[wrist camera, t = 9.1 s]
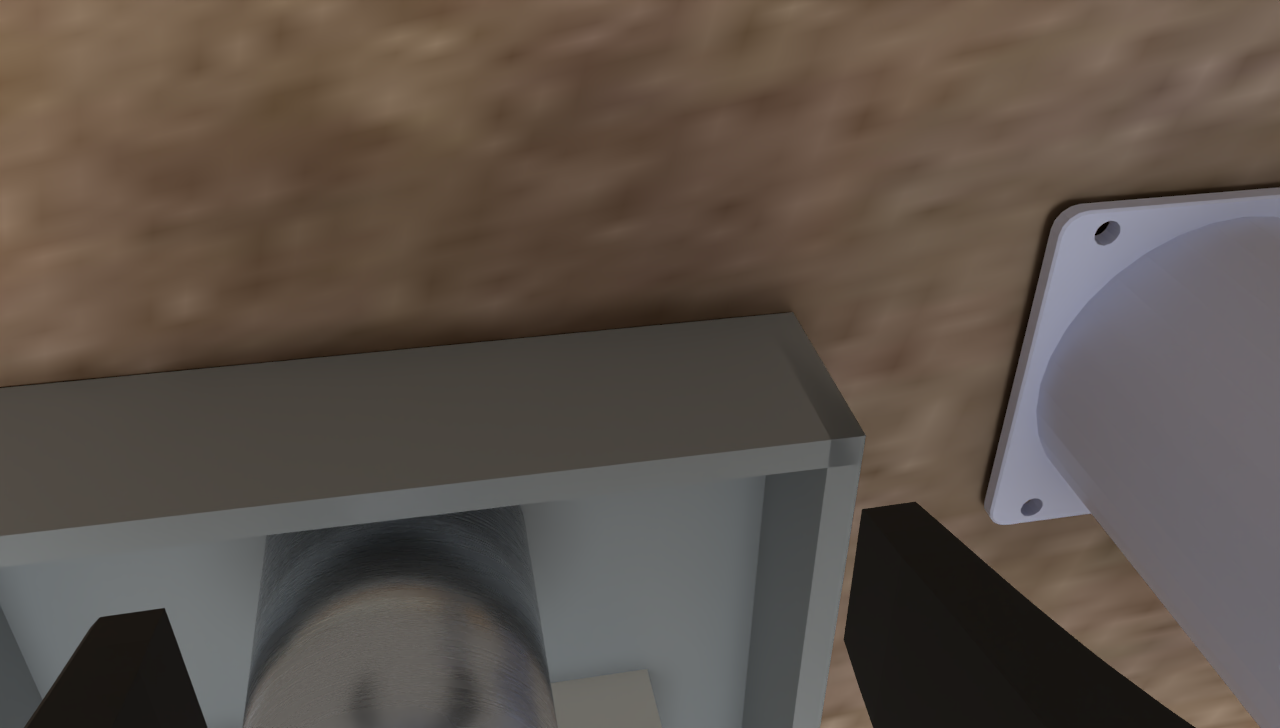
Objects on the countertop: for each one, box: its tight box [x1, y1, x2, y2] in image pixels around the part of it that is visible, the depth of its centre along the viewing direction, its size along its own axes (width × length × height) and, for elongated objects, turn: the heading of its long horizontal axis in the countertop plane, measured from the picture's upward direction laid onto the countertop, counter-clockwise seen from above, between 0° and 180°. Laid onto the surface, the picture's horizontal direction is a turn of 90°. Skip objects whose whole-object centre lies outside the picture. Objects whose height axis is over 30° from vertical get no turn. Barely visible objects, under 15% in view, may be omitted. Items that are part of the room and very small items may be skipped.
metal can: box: [243, 505, 558, 728], centre depth 19 cm, size 5×5×6 cm
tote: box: [0, 312, 866, 728], centre depth 23 cm, size 16×16×4 cm
